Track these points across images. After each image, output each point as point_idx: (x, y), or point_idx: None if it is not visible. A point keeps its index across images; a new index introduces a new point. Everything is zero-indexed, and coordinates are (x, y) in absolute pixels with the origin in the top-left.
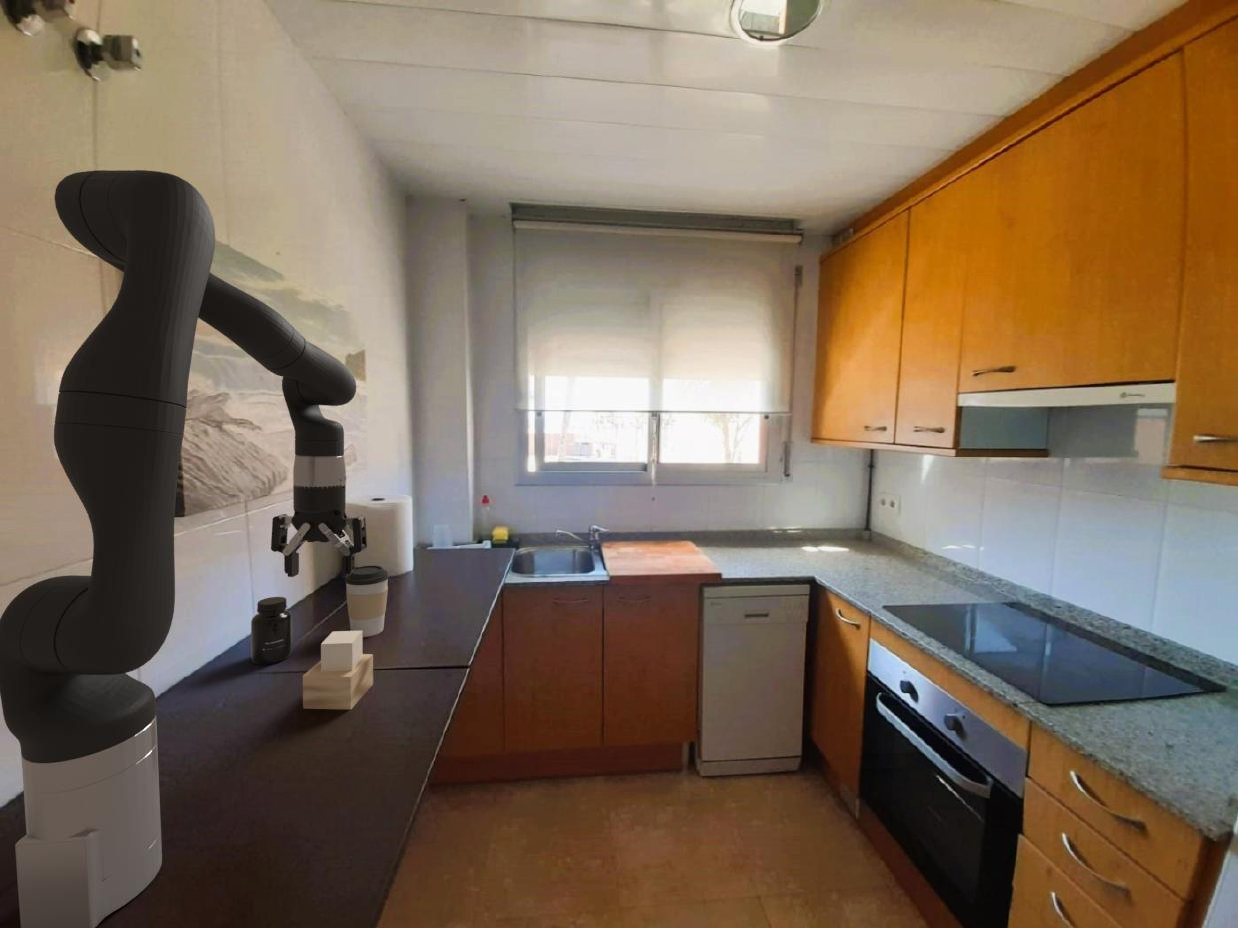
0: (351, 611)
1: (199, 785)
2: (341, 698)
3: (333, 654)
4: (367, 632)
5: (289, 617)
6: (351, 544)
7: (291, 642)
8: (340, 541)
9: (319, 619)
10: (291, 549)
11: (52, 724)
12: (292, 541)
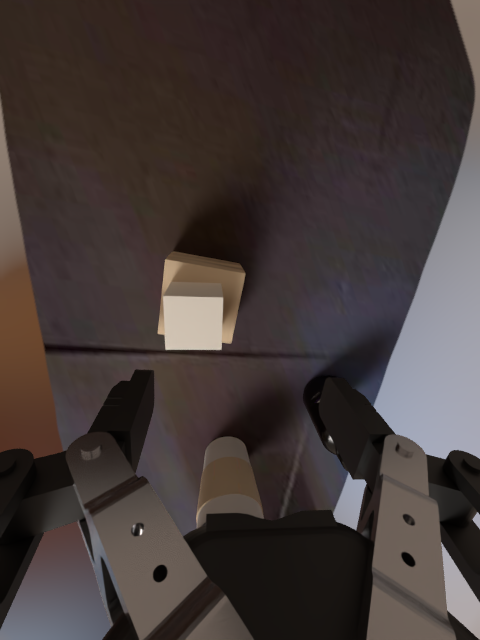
0: (245, 470)
1: (302, 97)
2: (185, 256)
3: (200, 290)
4: (220, 442)
5: (323, 434)
6: (84, 530)
7: (307, 408)
8: (88, 512)
9: (298, 480)
10: (391, 461)
11: None
12: (419, 498)
